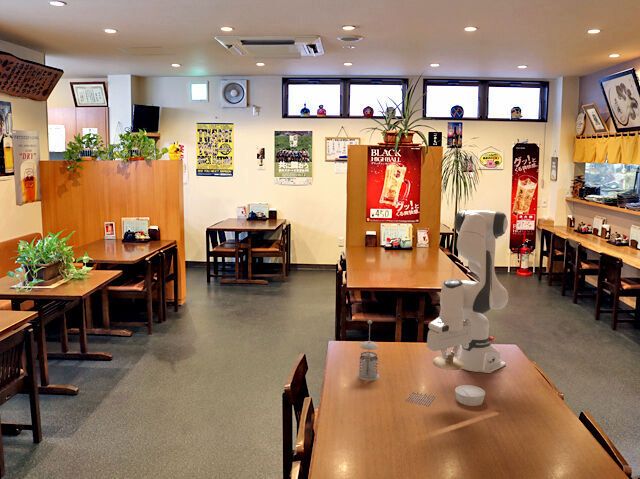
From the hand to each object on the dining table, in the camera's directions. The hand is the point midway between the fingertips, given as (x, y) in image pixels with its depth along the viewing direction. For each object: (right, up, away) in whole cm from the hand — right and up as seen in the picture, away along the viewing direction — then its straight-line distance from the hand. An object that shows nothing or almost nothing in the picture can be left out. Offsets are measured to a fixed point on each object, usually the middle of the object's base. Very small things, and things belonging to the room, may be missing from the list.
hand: (449, 357), depth 215 cm
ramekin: (+8, -19, +2) cm, 20 cm away
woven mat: (-11, -19, +3) cm, 22 cm away
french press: (-29, -14, +26) cm, 41 cm away
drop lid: (0, -3, 0) cm, 3 cm away
